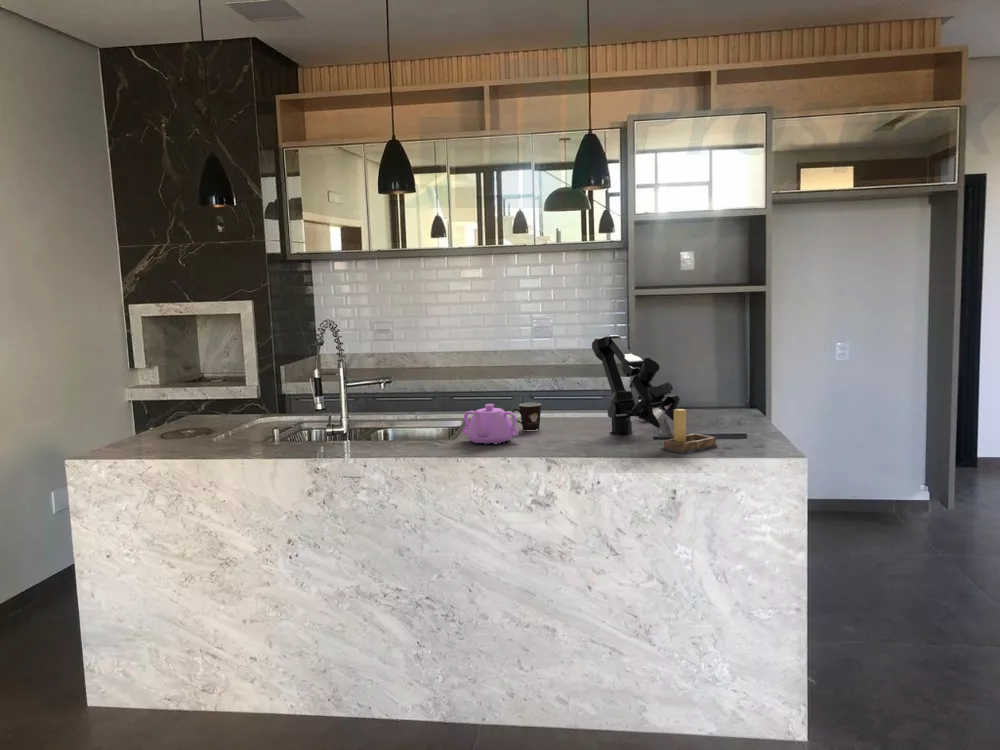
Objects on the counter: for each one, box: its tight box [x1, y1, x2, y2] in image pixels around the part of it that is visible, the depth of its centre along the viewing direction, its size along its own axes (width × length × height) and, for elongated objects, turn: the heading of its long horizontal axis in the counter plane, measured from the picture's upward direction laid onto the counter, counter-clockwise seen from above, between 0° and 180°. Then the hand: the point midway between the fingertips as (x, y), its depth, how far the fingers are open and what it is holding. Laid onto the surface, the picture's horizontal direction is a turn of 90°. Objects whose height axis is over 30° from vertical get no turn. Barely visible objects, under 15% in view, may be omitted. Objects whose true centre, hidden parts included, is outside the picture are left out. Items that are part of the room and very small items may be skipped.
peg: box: [673, 408, 687, 443], centre depth 261 cm, size 4×4×13 cm
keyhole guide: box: [660, 433, 718, 455], centre depth 264 cm, size 16×10×3 cm, turn 124°
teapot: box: [462, 403, 520, 445], centre depth 283 cm, size 22×22×14 cm
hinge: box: [637, 399, 664, 422], centre depth 319 cm, size 17×5×10 cm, turn 156°
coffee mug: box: [511, 402, 542, 430], centre depth 303 cm, size 12×9×10 cm
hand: (669, 425), depth 265 cm, fingers open, 9 cm apart
